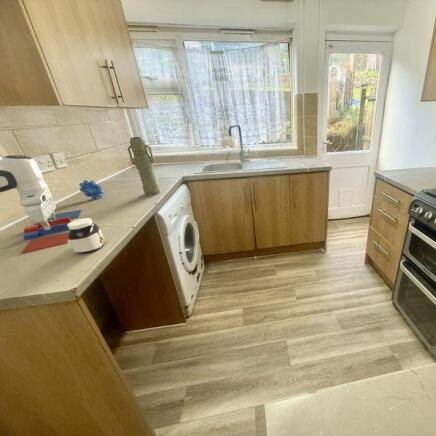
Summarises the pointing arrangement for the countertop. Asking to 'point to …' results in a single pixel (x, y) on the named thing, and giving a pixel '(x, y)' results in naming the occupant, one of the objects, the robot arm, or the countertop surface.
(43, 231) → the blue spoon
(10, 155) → the robot arm
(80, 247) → the spread jar
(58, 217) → the slate-blue mat
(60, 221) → the red stepped bar
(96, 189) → the blue gear
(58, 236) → the terracotta mat
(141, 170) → the thermos
